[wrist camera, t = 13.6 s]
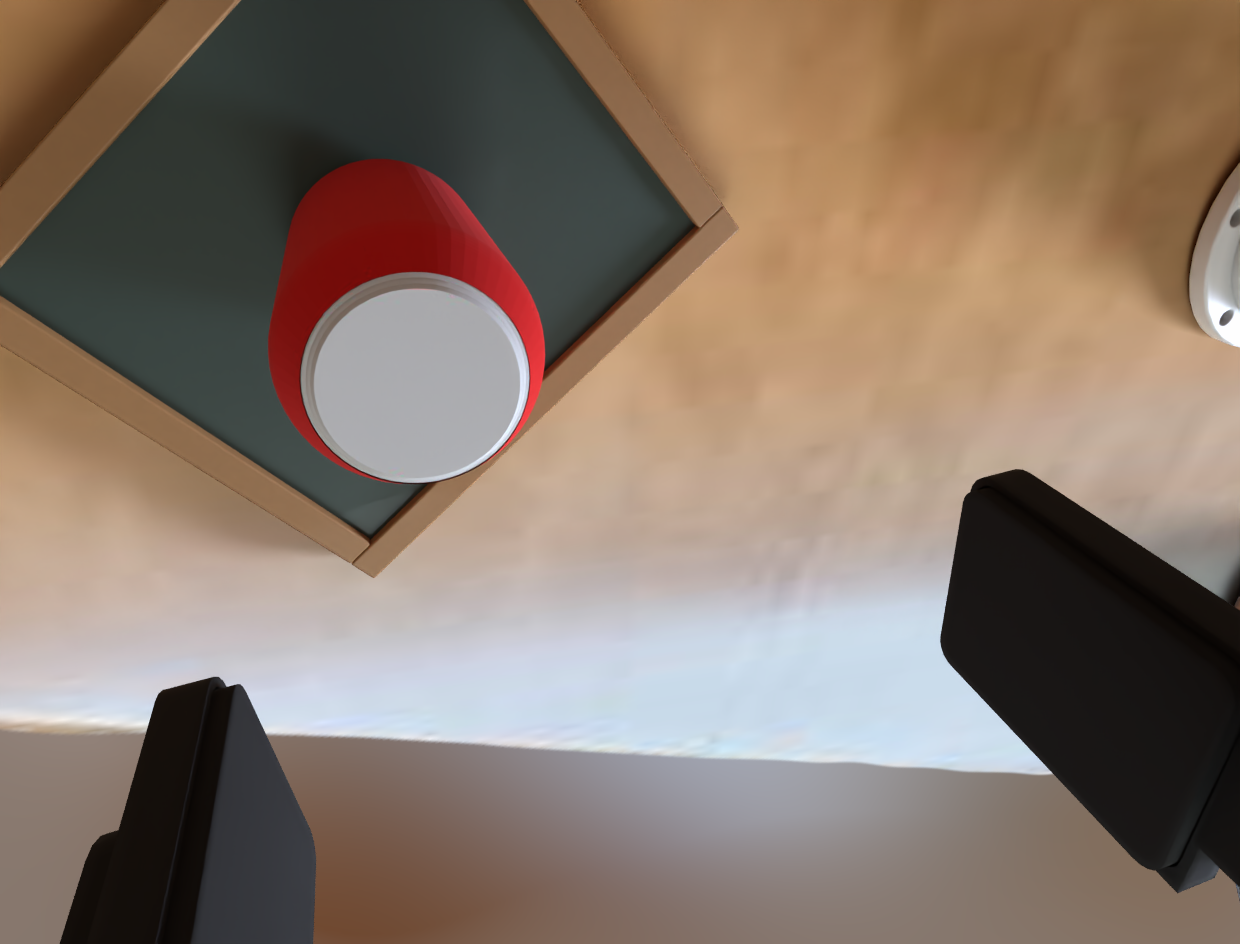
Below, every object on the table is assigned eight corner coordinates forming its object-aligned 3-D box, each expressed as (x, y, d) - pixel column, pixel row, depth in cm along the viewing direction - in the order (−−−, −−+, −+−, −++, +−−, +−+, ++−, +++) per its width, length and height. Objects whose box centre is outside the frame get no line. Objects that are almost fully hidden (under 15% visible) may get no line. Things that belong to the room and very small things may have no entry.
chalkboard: (387, -240, 22) (391, -257, 20) (723, 220, 31) (740, 229, 30) (-68, 274, 24) (-91, 289, 23) (372, 557, 33) (374, 579, 32)
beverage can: (476, 155, 26) (566, 237, 16) (480, 336, 29) (559, 500, 19) (275, 150, 24) (235, 240, 14) (303, 344, 27) (285, 530, 17)
